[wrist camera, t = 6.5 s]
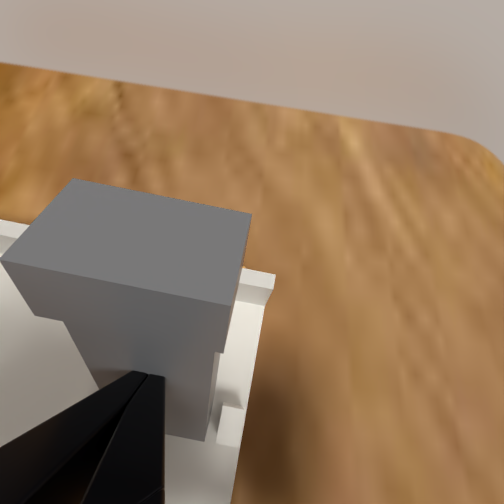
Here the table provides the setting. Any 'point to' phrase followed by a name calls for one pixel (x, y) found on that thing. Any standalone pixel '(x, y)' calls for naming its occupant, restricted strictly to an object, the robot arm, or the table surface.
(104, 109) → the table surface
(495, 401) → the table surface
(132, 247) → the lever
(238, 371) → the switch box
